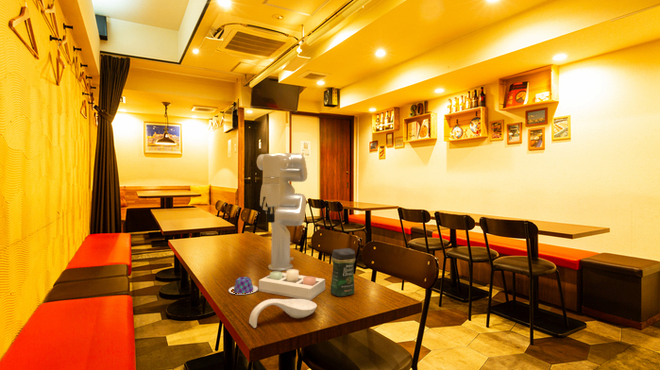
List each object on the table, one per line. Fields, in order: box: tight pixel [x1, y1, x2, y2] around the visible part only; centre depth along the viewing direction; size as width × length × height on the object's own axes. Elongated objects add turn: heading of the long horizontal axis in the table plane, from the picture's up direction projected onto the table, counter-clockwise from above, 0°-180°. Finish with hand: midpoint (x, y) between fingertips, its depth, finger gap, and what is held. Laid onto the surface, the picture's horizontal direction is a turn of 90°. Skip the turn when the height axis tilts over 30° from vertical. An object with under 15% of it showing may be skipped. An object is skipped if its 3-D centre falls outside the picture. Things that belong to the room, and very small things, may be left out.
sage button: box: [269, 270, 283, 280], centre depth 145 cm, size 5×5×5 cm
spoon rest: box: [248, 298, 318, 329], centre depth 115 cm, size 24×12×7 cm, turn 125°
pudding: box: [228, 276, 259, 295], centre depth 141 cm, size 12×12×5 cm
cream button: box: [285, 268, 300, 283], centre depth 142 cm, size 5×5×5 cm
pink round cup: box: [303, 275, 317, 286], centre depth 139 cm, size 5×5×5 cm
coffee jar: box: [330, 247, 356, 297], centre depth 139 cm, size 10×8×19 cm
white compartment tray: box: [258, 272, 326, 301], centre depth 142 cm, size 14×24×4 cm, turn 67°
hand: (270, 222), depth 152 cm, fingers closed
